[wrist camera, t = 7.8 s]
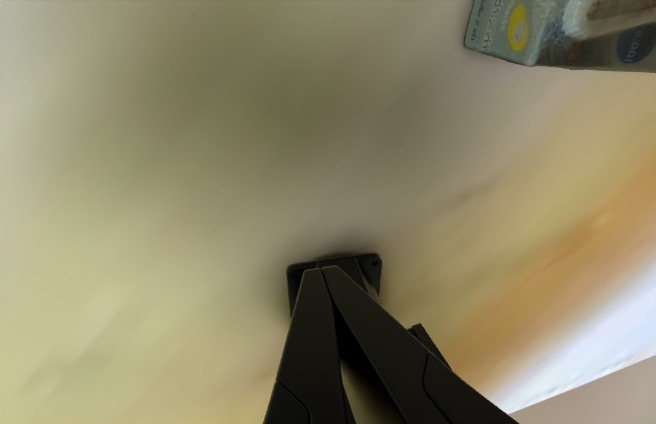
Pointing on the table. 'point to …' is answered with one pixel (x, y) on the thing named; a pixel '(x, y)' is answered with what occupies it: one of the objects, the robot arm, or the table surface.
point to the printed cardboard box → (567, 33)
